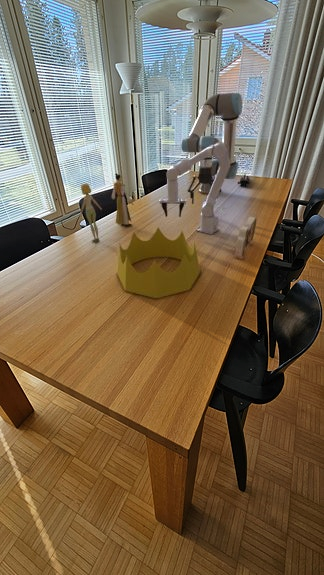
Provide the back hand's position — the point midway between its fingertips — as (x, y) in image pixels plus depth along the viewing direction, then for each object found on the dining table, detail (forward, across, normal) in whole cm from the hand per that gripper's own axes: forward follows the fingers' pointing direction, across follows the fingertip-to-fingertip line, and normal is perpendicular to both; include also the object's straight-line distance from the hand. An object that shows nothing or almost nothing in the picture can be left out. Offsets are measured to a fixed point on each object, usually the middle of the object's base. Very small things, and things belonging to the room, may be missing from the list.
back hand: (203, 203), depth 165 cm
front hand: (0, -16, -23) cm, 28 cm away
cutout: (+8, +22, -46) cm, 51 cm away
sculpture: (+8, -56, -42) cm, 71 cm away
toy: (+7, +32, +84) cm, 90 cm away
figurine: (+8, -47, -20) cm, 51 cm away
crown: (+9, -16, -72) cm, 74 cm away
